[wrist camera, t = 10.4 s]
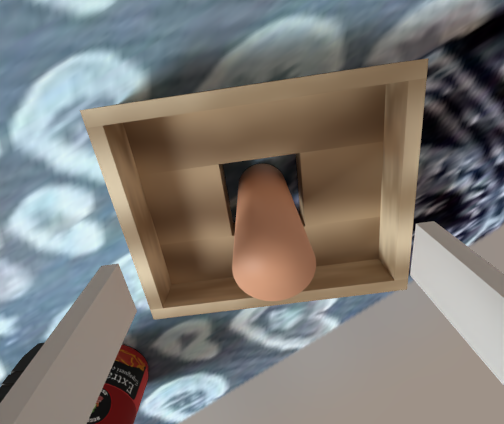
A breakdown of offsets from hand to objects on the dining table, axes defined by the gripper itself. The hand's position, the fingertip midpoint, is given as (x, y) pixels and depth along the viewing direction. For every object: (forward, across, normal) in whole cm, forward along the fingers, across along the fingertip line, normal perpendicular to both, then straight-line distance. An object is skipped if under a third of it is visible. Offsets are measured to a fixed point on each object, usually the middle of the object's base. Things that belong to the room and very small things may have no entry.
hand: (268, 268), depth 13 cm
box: (+13, 0, -1) cm, 13 cm away
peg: (+13, 0, -1) cm, 13 cm away
